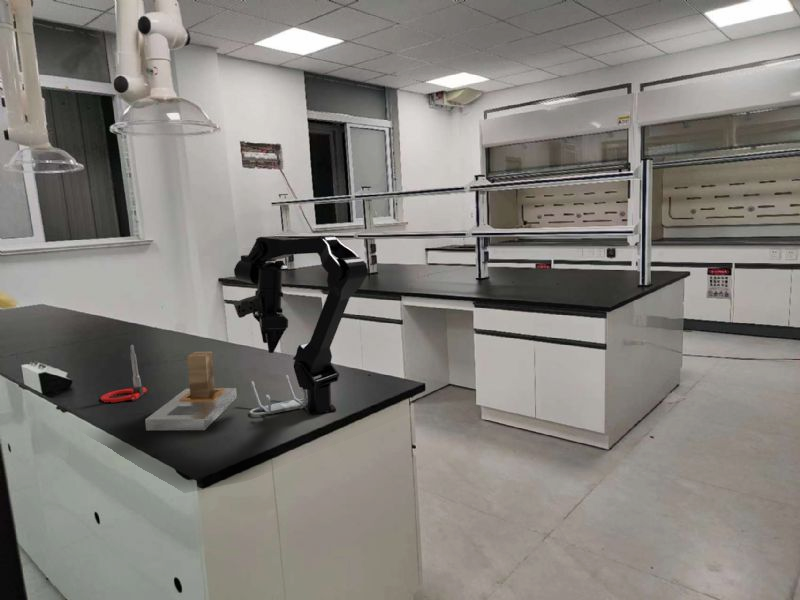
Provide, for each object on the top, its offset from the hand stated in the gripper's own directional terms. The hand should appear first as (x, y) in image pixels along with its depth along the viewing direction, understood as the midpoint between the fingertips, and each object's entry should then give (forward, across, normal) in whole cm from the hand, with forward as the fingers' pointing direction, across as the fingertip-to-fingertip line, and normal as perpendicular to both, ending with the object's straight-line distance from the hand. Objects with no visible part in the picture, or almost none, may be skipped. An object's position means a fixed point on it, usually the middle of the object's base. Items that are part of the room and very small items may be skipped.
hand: (268, 347), depth 139 cm
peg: (+14, -1, -15) cm, 21 cm away
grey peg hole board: (+14, +4, -17) cm, 23 cm away
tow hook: (+17, -16, -34) cm, 42 cm away
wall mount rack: (+13, +9, +2) cm, 16 cm away
